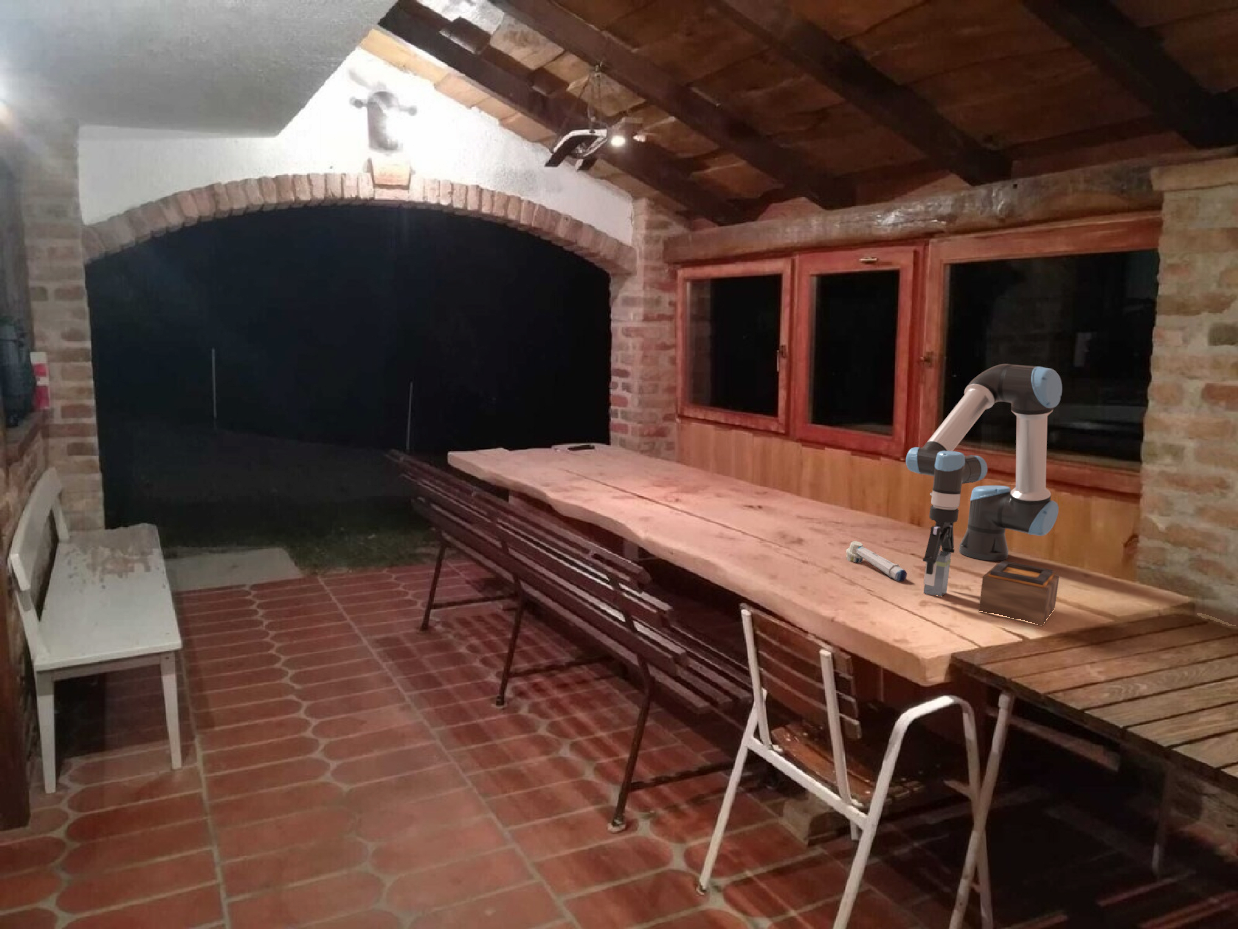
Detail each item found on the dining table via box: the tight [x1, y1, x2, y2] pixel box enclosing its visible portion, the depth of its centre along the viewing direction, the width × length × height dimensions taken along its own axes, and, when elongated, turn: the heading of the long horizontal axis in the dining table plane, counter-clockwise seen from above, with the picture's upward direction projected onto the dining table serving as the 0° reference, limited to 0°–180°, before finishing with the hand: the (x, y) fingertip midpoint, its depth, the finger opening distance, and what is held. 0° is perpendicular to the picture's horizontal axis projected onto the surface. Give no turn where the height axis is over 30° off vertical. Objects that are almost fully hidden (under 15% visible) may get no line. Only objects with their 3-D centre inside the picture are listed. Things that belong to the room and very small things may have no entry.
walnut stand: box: [978, 560, 1060, 627], centre depth 246 cm, size 16×16×12 cm
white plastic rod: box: [845, 540, 908, 582], centre depth 281 cm, size 5×7×25 cm
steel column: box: [923, 550, 952, 597], centre depth 259 cm, size 5×5×12 cm
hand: (936, 579), depth 259 cm, fingers open, 13 cm apart
